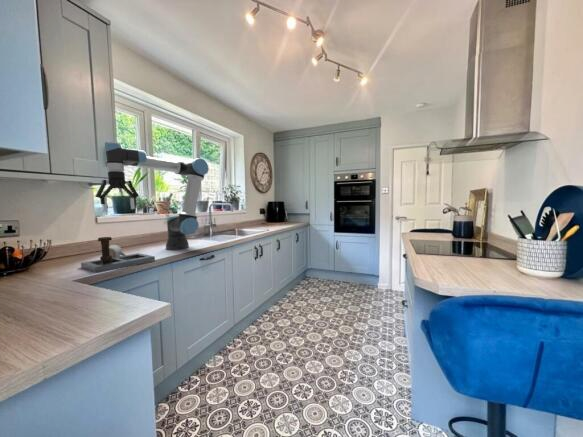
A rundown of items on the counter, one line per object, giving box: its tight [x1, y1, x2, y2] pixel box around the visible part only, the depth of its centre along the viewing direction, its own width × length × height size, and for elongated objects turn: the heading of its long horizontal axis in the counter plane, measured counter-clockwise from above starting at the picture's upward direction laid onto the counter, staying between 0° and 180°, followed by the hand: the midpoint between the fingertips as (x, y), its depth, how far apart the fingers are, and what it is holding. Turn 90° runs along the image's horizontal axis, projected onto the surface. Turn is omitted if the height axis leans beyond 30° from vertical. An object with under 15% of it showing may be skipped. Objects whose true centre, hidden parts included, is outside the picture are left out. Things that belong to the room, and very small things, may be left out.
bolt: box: [97, 236, 112, 264], centre depth 124 cm, size 6×5×15 cm
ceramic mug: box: [109, 244, 126, 257], centre depth 144 cm, size 11×8×8 cm
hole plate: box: [80, 252, 156, 274], centre depth 129 cm, size 27×19×2 cm
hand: (119, 209), depth 136 cm, fingers open, 13 cm apart
